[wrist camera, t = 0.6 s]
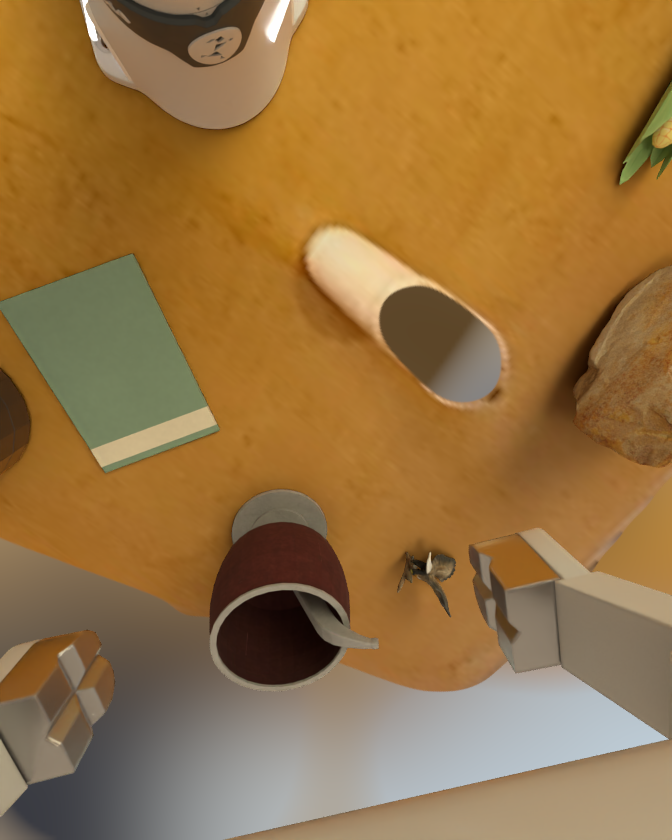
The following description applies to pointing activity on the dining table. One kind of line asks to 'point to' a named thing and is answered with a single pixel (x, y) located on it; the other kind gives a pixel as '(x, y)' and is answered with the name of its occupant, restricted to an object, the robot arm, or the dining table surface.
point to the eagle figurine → (430, 573)
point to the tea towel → (112, 362)
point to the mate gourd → (280, 597)
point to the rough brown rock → (632, 377)
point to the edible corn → (653, 139)
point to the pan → (12, 424)
